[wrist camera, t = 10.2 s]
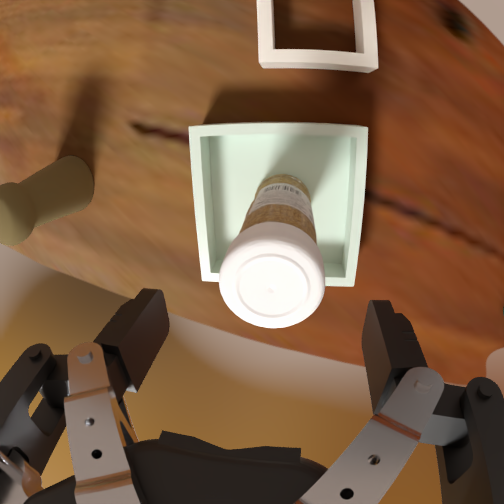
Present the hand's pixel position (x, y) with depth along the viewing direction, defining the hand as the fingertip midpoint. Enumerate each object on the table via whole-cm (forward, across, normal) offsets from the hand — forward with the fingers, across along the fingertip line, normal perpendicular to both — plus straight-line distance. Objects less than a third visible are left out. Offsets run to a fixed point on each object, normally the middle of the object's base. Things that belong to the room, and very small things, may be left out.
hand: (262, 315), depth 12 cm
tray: (+16, 0, 0) cm, 16 cm away
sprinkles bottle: (+15, 0, 0) cm, 15 cm away
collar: (+16, -3, -15) cm, 22 cm away
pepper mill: (+16, +21, -2) cm, 27 cm away
